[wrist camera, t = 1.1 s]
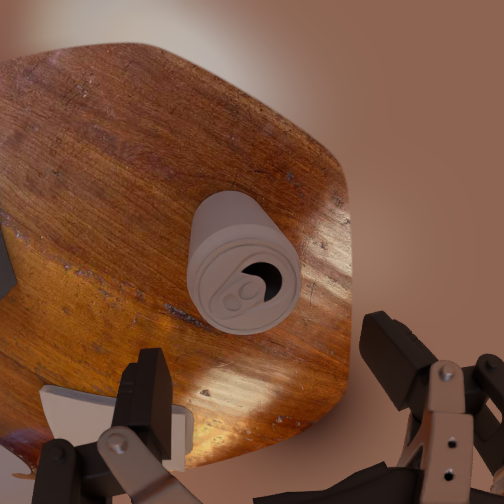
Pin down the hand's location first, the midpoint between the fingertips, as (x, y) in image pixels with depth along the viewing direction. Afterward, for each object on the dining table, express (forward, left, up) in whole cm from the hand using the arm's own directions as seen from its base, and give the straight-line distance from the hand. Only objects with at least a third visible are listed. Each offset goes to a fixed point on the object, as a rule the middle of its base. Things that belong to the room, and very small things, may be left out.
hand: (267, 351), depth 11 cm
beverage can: (0, 0, -17) cm, 17 cm away
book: (+28, -20, -17) cm, 38 cm away
